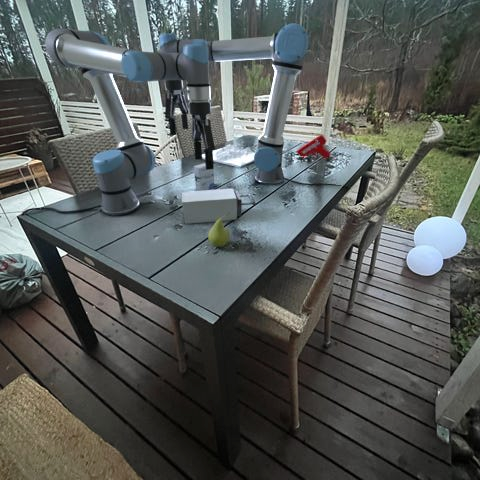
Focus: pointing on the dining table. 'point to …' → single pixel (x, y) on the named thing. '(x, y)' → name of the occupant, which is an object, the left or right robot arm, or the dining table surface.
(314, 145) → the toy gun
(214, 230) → the fruit
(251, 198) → the drawer
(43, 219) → the dining table surface
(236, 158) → the relief map
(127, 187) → the left robot arm
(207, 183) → the ink box
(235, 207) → the cabinet
